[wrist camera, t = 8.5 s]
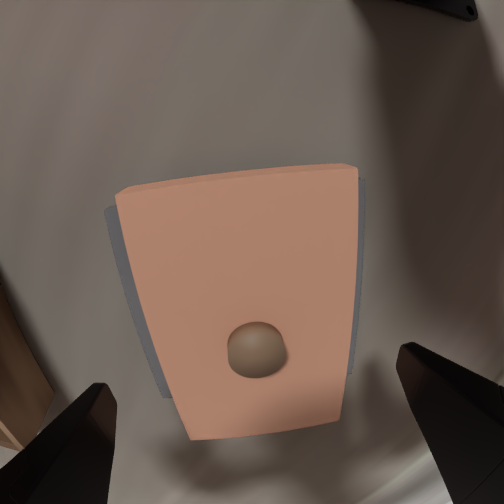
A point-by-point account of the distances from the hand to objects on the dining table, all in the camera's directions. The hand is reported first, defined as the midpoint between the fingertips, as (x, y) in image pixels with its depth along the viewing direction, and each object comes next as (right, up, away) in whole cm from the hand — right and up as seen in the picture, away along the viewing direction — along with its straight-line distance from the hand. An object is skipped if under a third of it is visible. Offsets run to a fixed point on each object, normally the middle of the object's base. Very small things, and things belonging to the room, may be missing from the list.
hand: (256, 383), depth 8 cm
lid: (0, +1, +3) cm, 3 cm away
